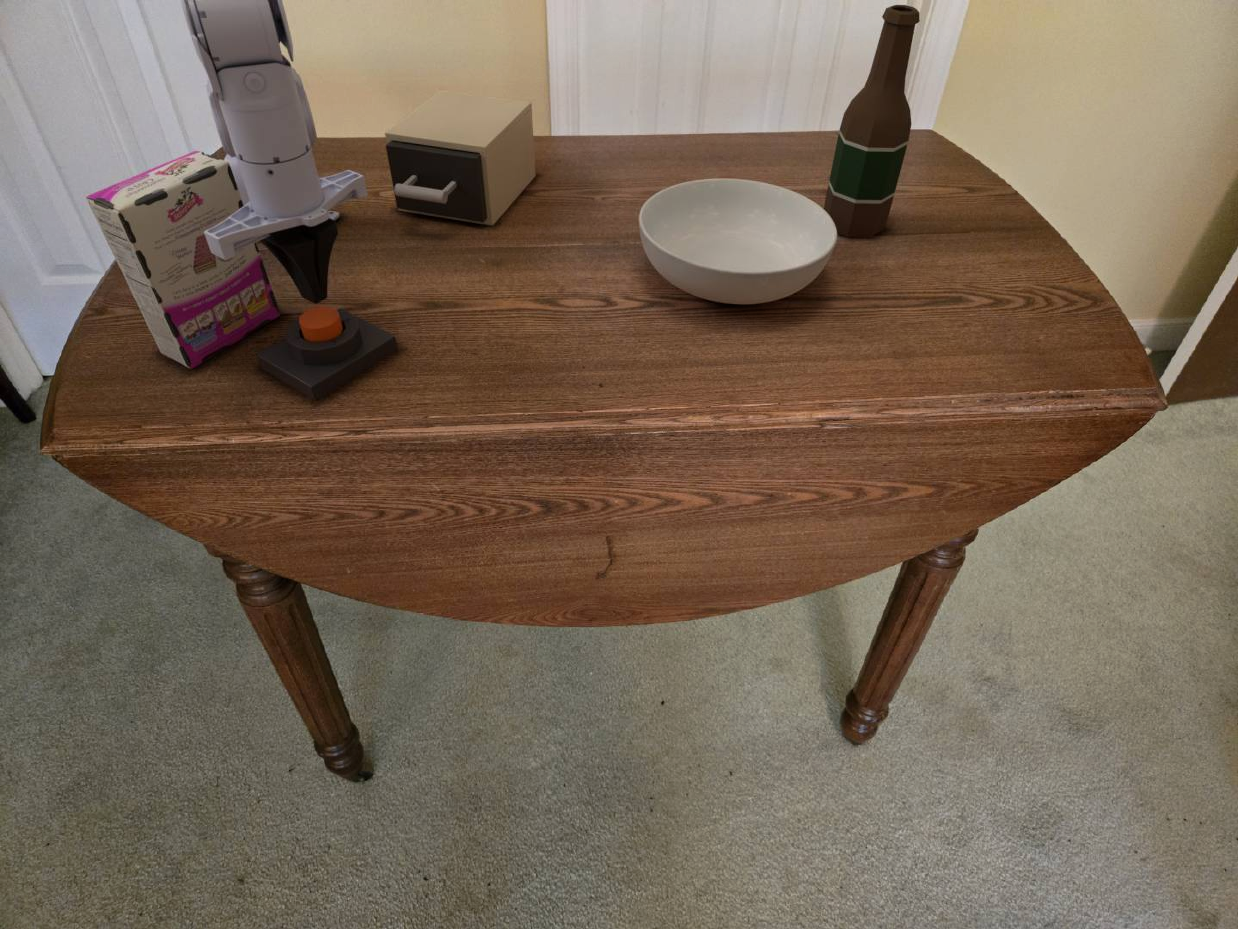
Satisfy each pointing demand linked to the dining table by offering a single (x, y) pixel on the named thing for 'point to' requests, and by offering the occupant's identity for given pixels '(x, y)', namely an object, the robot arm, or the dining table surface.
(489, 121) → the cabinet
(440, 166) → the drawer
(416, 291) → the dining table surface
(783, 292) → the serving bowl
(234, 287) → the candy bar box
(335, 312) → the button
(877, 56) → the beer bottle
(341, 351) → the control block
